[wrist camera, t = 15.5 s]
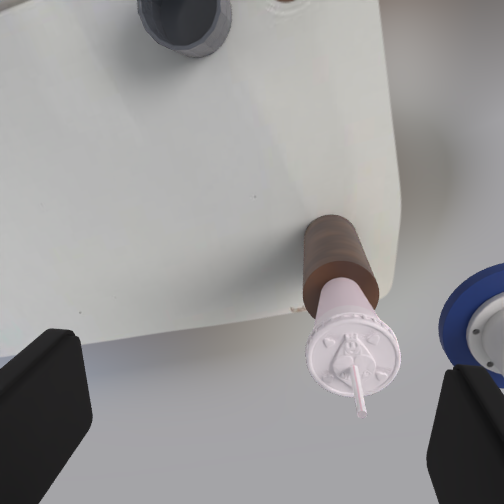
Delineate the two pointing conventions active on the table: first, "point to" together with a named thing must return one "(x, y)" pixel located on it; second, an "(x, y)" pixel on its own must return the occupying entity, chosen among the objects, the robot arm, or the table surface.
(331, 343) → the smoothie
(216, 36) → the grey cup holder
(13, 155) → the table surface
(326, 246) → the stand
